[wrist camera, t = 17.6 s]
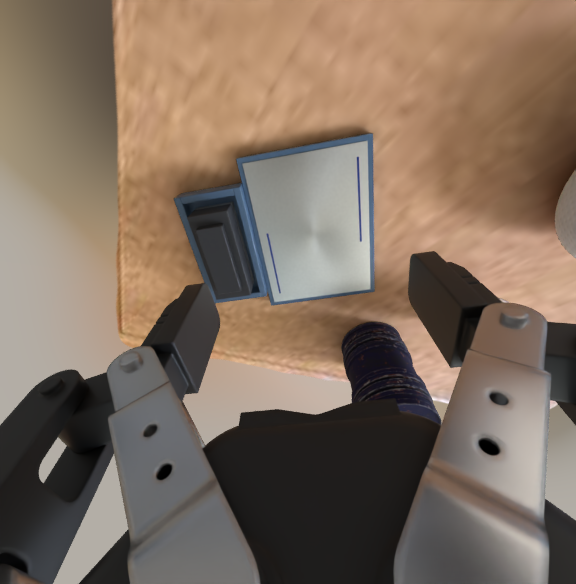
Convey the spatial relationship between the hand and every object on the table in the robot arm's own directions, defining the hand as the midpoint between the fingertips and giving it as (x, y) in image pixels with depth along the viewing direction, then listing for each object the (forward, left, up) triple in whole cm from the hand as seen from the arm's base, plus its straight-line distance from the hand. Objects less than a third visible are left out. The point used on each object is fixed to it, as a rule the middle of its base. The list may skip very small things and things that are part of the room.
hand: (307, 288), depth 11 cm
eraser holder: (+7, -10, -26) cm, 29 cm away
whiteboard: (+7, +1, -26) cm, 27 cm away
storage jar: (+28, +8, -26) cm, 39 cm away
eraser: (+7, -10, -25) cm, 28 cm away
